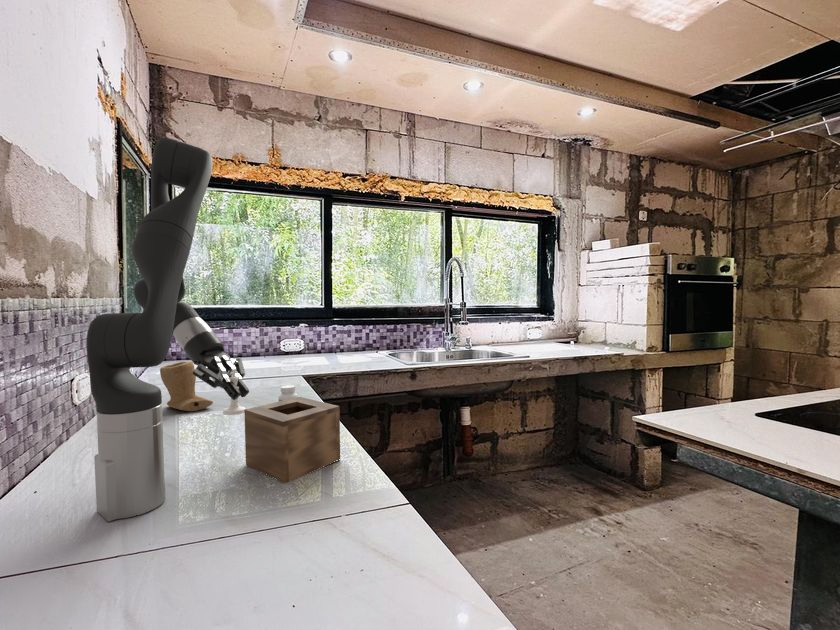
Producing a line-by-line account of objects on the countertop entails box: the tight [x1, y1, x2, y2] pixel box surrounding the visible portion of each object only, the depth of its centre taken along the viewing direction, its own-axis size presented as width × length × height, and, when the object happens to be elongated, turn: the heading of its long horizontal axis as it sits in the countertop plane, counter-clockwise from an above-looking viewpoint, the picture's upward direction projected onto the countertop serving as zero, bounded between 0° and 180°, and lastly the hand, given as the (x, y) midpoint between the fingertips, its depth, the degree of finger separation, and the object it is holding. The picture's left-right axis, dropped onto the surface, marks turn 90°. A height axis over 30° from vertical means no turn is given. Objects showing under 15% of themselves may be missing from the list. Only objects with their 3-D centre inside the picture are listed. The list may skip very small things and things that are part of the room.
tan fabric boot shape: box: [159, 360, 214, 412], centre depth 135 cm, size 15×12×15 cm
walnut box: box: [243, 396, 341, 484], centre depth 91 cm, size 14×14×12 cm
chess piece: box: [222, 369, 247, 416], centre depth 97 cm, size 5×5×10 cm
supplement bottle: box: [278, 384, 299, 402], centre depth 123 cm, size 5×5×10 cm
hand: (241, 395), depth 97 cm, fingers closed on chess piece
